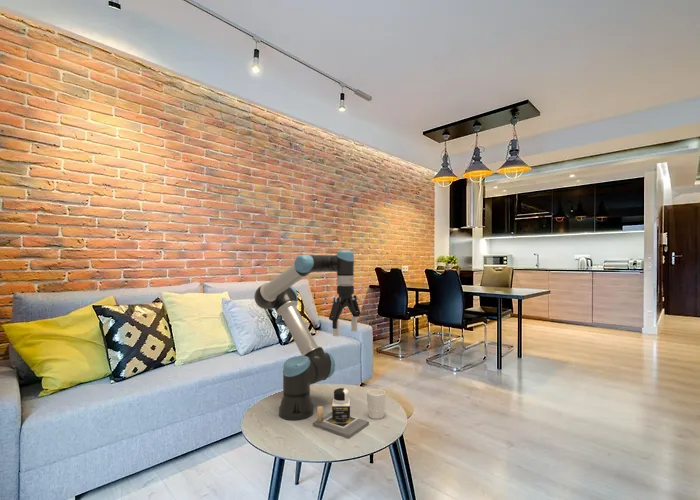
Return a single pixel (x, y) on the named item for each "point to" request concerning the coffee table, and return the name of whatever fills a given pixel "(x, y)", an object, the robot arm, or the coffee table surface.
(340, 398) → the medicine bottle
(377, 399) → the white cup
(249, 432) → the coffee table surface
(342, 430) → the peg board
